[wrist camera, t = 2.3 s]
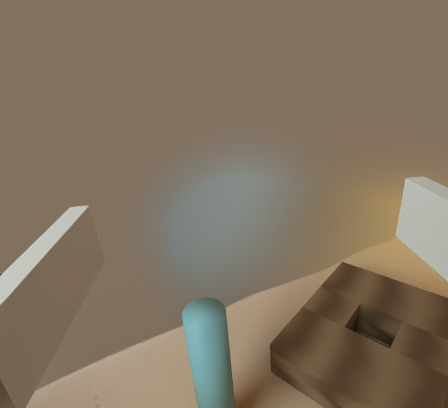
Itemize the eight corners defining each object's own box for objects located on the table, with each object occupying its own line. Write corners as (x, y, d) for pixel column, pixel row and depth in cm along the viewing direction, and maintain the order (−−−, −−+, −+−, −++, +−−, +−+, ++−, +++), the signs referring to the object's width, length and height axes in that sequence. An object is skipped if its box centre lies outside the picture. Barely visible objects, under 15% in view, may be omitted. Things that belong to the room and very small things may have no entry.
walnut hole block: (460, 332, 40) (469, 305, 38) (424, 475, 27) (434, 444, 25) (340, 284, 50) (342, 261, 48) (270, 371, 37) (270, 343, 35)
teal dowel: (244, 431, 31) (234, 309, 24) (221, 462, 29) (203, 337, 22) (219, 409, 33) (204, 292, 27) (196, 436, 31) (173, 315, 24)
